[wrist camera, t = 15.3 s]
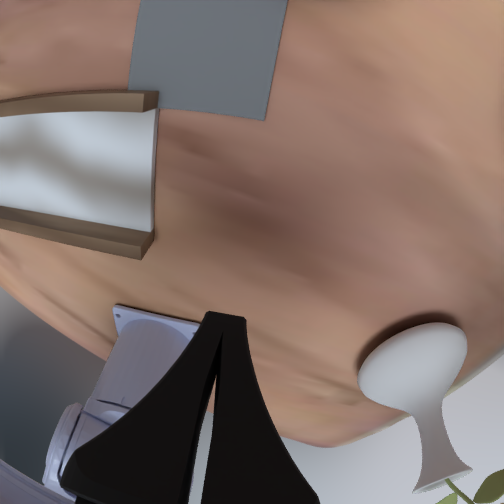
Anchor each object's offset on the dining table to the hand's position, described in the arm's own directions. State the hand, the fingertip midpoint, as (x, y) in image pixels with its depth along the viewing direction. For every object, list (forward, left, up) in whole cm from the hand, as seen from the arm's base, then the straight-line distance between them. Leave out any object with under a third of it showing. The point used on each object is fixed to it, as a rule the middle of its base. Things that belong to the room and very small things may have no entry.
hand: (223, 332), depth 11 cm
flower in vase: (-10, -18, -10) cm, 23 cm away
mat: (+10, +4, -9) cm, 14 cm away
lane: (+2, +19, -9) cm, 21 cm away
